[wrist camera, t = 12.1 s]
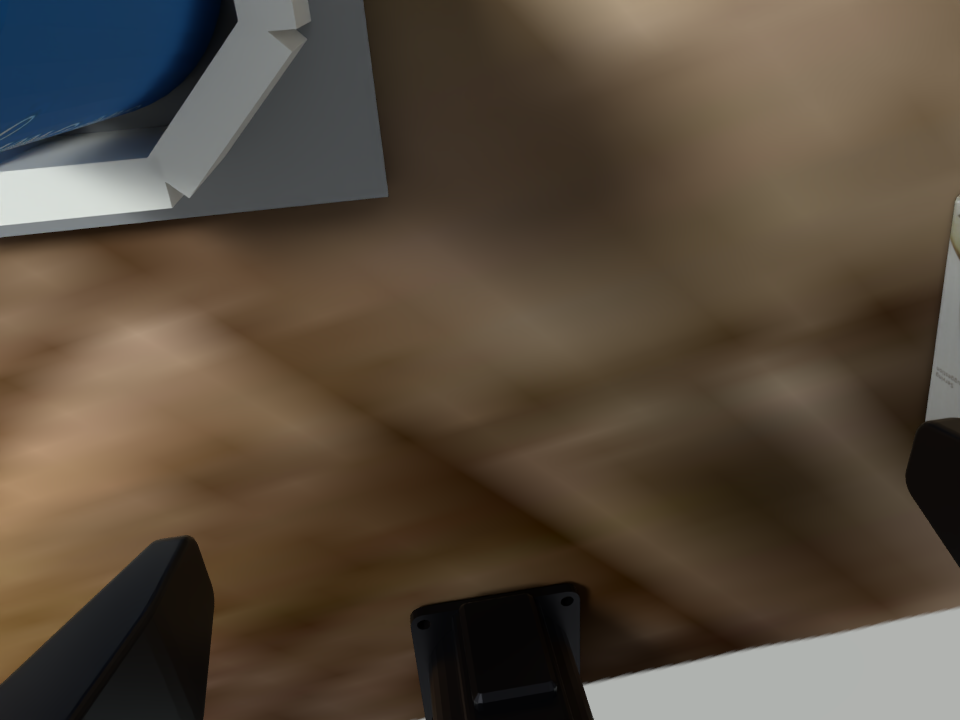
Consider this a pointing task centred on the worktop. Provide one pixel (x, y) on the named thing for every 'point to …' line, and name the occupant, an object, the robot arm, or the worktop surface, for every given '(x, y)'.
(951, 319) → the coffee box
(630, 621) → the worktop surface
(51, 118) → the beverage can
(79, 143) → the socket
